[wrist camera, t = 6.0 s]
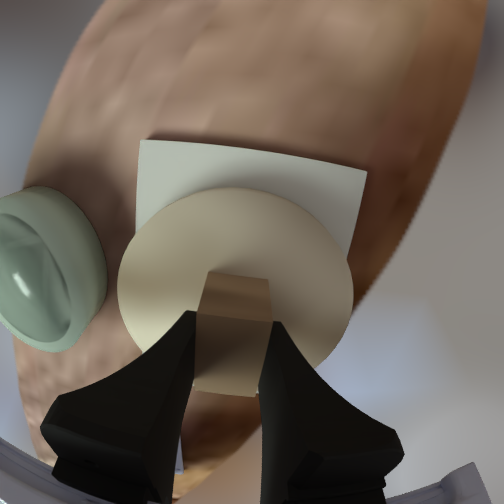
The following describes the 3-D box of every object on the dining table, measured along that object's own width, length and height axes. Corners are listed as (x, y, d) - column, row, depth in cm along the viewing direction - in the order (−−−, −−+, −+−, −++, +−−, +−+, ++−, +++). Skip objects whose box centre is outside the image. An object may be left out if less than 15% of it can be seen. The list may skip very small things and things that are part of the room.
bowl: (115, 336, 16) (97, 369, 13) (15, 307, 15) (-7, 329, 12) (104, 189, 12) (72, 204, 10) (-5, 185, 12) (-37, 196, 9)
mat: (298, 388, 17) (299, 395, 17) (148, 370, 17) (145, 377, 16) (362, 170, 12) (367, 171, 12) (145, 139, 12) (140, 139, 11)
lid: (314, 387, 16) (325, 437, 12) (133, 366, 15) (113, 413, 12) (375, 209, 12) (419, 240, 8) (121, 175, 11) (73, 193, 7)
